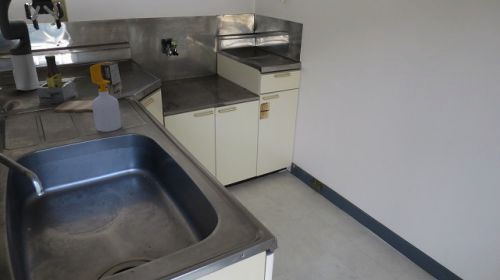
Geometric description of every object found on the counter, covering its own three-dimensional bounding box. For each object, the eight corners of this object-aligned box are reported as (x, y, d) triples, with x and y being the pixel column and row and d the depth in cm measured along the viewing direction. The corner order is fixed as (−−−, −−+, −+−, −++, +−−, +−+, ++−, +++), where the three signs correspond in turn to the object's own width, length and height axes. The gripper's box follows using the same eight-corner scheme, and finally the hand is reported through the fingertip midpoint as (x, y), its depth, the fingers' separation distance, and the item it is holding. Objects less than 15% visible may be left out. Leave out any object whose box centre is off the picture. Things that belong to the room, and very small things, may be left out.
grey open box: (36, 105, 167) (32, 90, 164) (51, 95, 181) (48, 81, 178) (61, 105, 167) (58, 90, 165) (75, 95, 182) (72, 80, 179)
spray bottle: (107, 134, 138) (96, 66, 128) (91, 129, 142) (79, 63, 132) (126, 126, 145) (118, 61, 135) (110, 121, 149) (101, 58, 139)
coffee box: (124, 96, 180) (119, 62, 173) (114, 100, 174) (109, 65, 168) (109, 94, 183) (104, 60, 177) (99, 98, 178) (94, 63, 171)
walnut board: (54, 111, 160) (54, 109, 159) (66, 102, 171) (65, 100, 170) (93, 111, 160) (93, 109, 160) (102, 102, 171) (102, 100, 171)
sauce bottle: (59, 101, 172) (50, 57, 165) (47, 100, 174) (37, 56, 166) (68, 97, 178) (60, 54, 170) (56, 96, 179) (48, 54, 172)
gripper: (60, -13, 160) (68, 27, 166) (24, -12, 158) (33, 29, 164) (55, -13, 153) (63, 29, 159) (16, -12, 151) (26, 31, 157)
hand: (48, 29), depth 161 cm, fingers open, 8 cm apart
